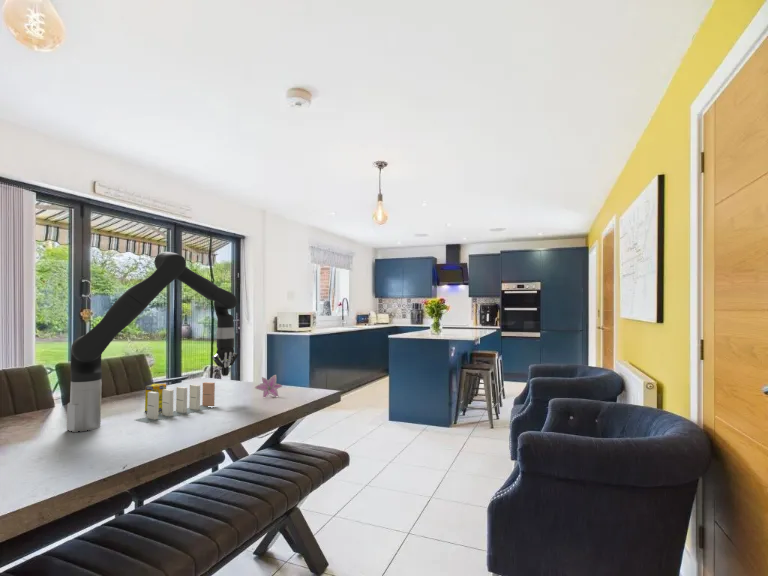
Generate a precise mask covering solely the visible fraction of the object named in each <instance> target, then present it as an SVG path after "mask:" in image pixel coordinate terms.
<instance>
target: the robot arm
mask: <svg viewBox="0 0 768 576" xmlns="http://www.w3.org/2000/svg"><path fill="white" fill-rule="evenodd" d="M153 263H154V267H155V268H156V270H155V271H153V273H152V274H151V275H150V276H148V277H147V278H145V279H142V281H140V282H138V283H135V285H132V286H131V287H129V288H128V289H127V290H126V291H125V292H123V293H122V294H121V295H120V297H118V298H117V300H115V302H114V303H113V304H112V305H111V307H110V308H109V309H108V311H107V312H106V313H105V315H104V316H103V318H101V320H100V321H99V322H98V323H97V324H96V325H95V326H94V327H93V328H91V329H90V330H89V331H88V332H87V333H86V334H84V335H82V336H79V337H77V338H76V339H75V340H73V342H72V344H71V347H70V391H69V392H70V396H69V402H68V403H67V404H66V406H67V410H66V431H68V430H69V431H70V432H71V431H72V432H71V433H79V432H78V431H80V432H87V430H88V431H92V430H94V429H98V428H100V427H101V422H102V421H101V420H102V419H101V417H102V415H101V414H102V384H103V383H102V378H103V371H102V370H103V369H102V354H103V353H104V352H105V350H106V349H107V347H108V346H109V345H110V344H111V343H112V341H114V339H115V337H116V336H118V334H120V332H122V331H123V330H124V329H125V328H127V326H129V325H130V324H131V323H132V322H133V321H135V320H136V319H137V318H138V316H140V314H142V312H143V311H144V310H146V309H147V307H148V306H149V305H150V304H151V303H152V302H153V301H154V300H155V299H156V298H157V296H159V295H160V293H161V292H162V291H163V290H164V289H165V288H166V287H168V286H169V285H170V284H171V283H172V282H174V281H175V280H178V281H179V282H181V283H183V284H185V285H186V286H187V287H189V288H191V289H192V290H193V291H195V292H196V293H198V294H200V295H201V296H202V297H204V298H205V299H206V300H207V299H208V300H209V301H213V308H214V310H215V311H214V312H215V316H216V318H217V319H216V320H217V324H216V325H217V328H216V329H217V330H216V354H214V355H212V356H211V359H212V360H213V361H214V363H215V364H216V366H217V367H220V368H221V376H223V377H226V376H228V375H229V374H230V367H231V366H233V365H234V364H235V361H236V360H237V358H238V356H239V354H238V353H236V352H235V349H234V347H235V330H234V327H235V325H234V322H235V321H234V315H232V314H230V313H229V310H232V309H235V308H236V307H237V305H238V299H237V297H236V296H235V294H234V293H232V292H230V291H228V290H226V289H225V288H224V289H223V288H221V287H219V286H218V285H216V284H215V283H214V282H212V281H210V280H209V279H208V278H206V277H204V276H203V275H200V274H198V273H197V272H195V271H194V270H191V269H190V268H188V267H187V260H186V259H185V257H184V256H182V255H181V254H179V253H176V252H171V251H163V252H162V251H161V252H160V253H158V254H157V255H156V256H155V258H154V262H153ZM69 431H68V432H69Z"/></svg>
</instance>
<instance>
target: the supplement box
mask: <svg viewBox="0 0 768 576" xmlns="http://www.w3.org/2000/svg"><path fill="white" fill-rule="evenodd" d="M163 389H167V383H152V384H149V385H145V395H144V396H145V398H144V399H145V401H144V402H145V403H144V412H145V413H147V398H148V392H151V391H152V392H158V393H159V410H158V413H160V412H162V390H163Z"/></svg>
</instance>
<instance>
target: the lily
mask: <svg viewBox="0 0 768 576" xmlns="http://www.w3.org/2000/svg"><path fill="white" fill-rule="evenodd" d="M261 382H262V383H260V384H258V385H256V386H255V387H254V389H256V390H258V391H263V393H262V398H263V397H265V398H267V397H268V396H269V395H271V396H273V397H275V396H278V397H279V392H278V390H279V389H281V388H283V385H282V384H279V383H277V374H274V375H272V376H270V378H269V379H267V378H266V377H263V376H262V377H261Z"/></svg>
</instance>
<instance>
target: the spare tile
mask: <svg viewBox="0 0 768 576" xmlns="http://www.w3.org/2000/svg"><path fill="white" fill-rule="evenodd" d="M215 384H216V383H215V382H208V381H205V382H202V404H201V405H202V406H215V399H216V398H215V393H216V392H215V391H216V390H215V389H216V388H215V387H216V386H215Z"/></svg>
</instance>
